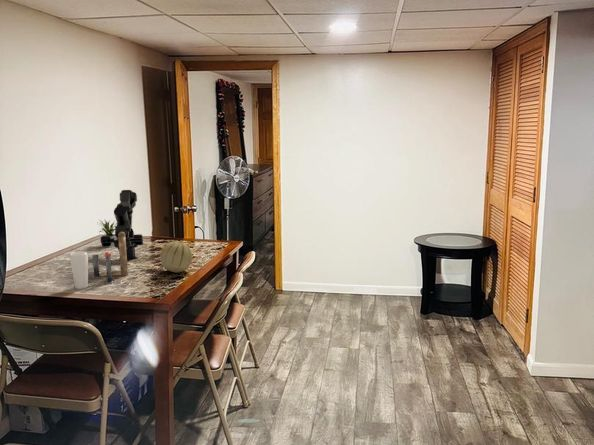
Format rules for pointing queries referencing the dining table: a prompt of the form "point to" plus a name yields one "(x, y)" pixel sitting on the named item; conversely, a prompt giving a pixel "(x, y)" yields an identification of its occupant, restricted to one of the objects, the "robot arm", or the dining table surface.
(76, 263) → the cream white cylinder
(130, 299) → the dining table surface
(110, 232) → the house plant
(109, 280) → the post
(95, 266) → the post
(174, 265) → the cantaloupe
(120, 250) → the gate
